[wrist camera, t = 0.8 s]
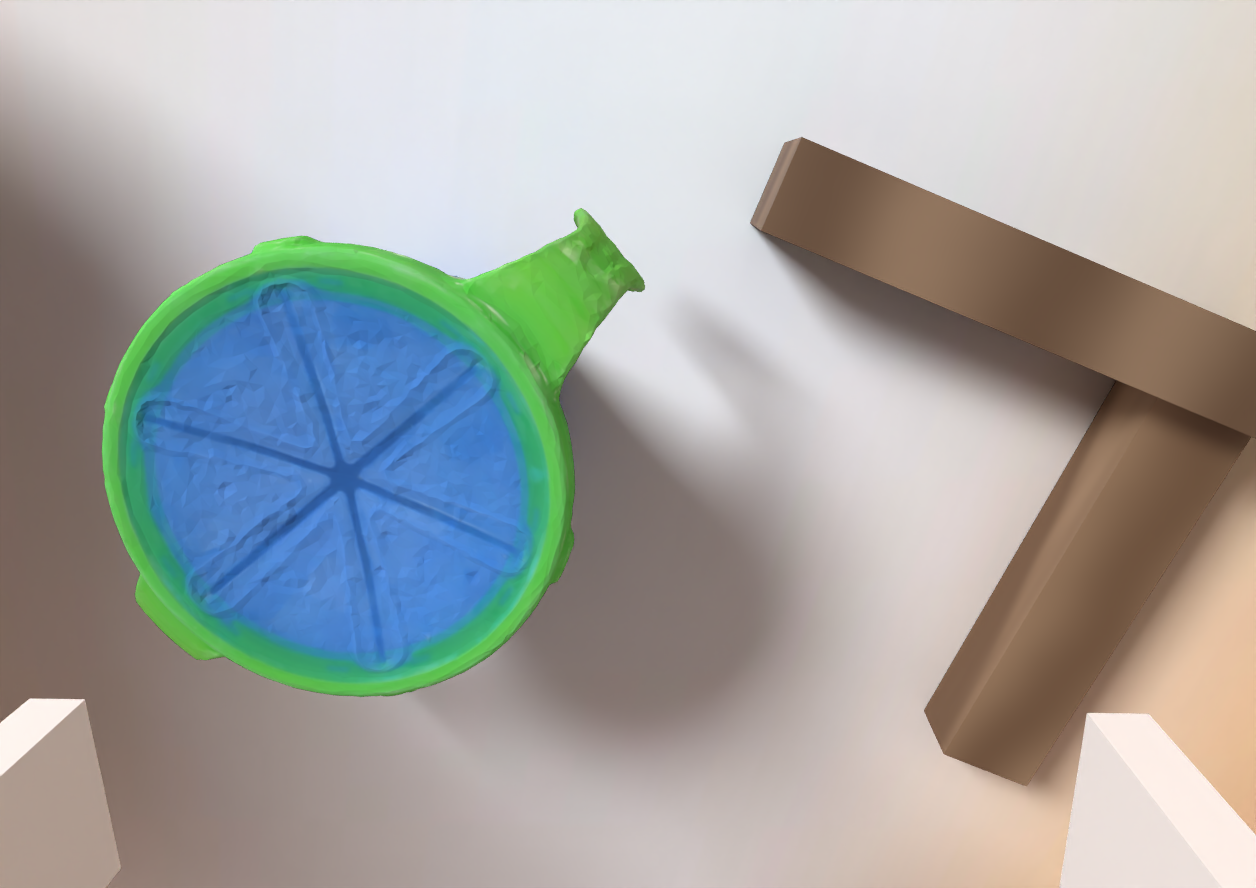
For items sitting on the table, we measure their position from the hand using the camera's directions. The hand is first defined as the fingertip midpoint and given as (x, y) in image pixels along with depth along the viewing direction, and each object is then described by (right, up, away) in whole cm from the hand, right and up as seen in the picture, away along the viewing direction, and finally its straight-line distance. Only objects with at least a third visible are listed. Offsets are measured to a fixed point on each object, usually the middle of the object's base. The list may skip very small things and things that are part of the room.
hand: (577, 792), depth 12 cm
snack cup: (-5, +7, +18) cm, 20 cm away
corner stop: (+10, +4, +17) cm, 20 cm away
